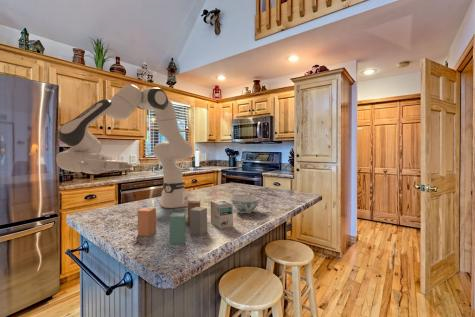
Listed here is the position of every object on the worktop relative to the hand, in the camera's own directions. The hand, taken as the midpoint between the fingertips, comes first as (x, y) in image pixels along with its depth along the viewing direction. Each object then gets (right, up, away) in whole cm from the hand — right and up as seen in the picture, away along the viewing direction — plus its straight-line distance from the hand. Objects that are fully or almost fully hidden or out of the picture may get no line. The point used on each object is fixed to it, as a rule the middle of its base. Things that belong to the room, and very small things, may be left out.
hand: (125, 166), depth 98 cm
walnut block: (+27, -27, +11) cm, 39 cm away
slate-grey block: (+31, -27, -1) cm, 41 cm away
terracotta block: (+10, -27, -2) cm, 29 cm away
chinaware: (+51, -26, +30) cm, 65 cm away
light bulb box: (+40, -27, +9) cm, 49 cm away
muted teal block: (+25, -28, -10) cm, 38 cm away
